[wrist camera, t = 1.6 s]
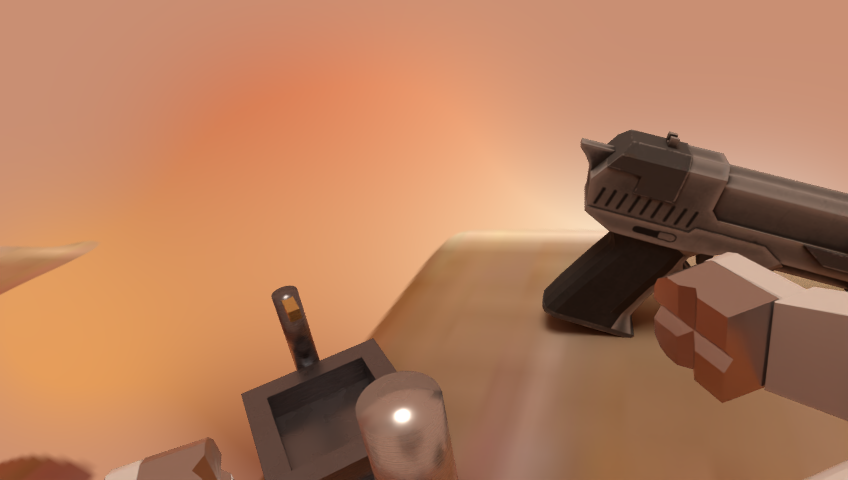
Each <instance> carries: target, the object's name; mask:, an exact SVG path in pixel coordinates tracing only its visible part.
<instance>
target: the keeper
mask: <svg viewBox="0 0 848 480" xmlns="http://www.w3.org/2000/svg"><path fill="white" fill-rule="evenodd" d="M272 299H273V303H274V305H275V308H276V311H277V314H278V317H279V320H280V323H281V325H282V329H283V331H284V334H285V337H286V340H287V343H288V346H289V349H290V352H291V355H292V358H293V361H294V364H295V366H296V369H297V371H295V372H292V373H290V374H288V375H285V376H283V377H281V378H278V379H276V380H273V381H271V382H269V383H266V384H264V385H262V386H259V387H257V388H254V389H252V390H250V391H247V392H245V393H243V394H241V395H242V399H243V402H244V406H245V410H246V413H247V417H248V420H249V424H250V427H251V431H252V434H253V438H254V442H255V445H256V449H257V453H258V456H259V459H260V463H261V467H262V471H263V474H264V478H265V480H375V478H374V475H373V471H372V468H371V465H370V461H369V458H368V454H367V451H366V448H365V444H364V441H363V437H362V434H361V431H360V427H359V424H358V420H357V417H356V403H357V400H358V398H359V396H360V394H361V393H362V392H363V390H364V389H365V388H366V387H367V386H368V385H370V384H371V383H372V382H374V381H375V380H377V379H378V378H380V377H383V376H385V375H388V374H391V373H395V372H397V371H396V370H395V369H394V367H393V366H392V364H391V363H390V361H389V360H388V359H387V357H386V356H385V354H384V353H383V351H382V350H381V349H380V347H379V346H378V344H377V343H376V341H375V340H374V339H370V340H368V341H366V342H363V343H361V344H358V345H356V346H354V347H351V348H349V349H347V350H345V351H342V352H340V353H337V354H335V355H333V356H330V357H328V358H325V359H323V360H321V361H320V360H319V357H318V354H317V351H316V348H315V344H314V341H313V338H312V335H311V332H310V329H309V325H308V322H307V319H306V316H305V313H304V310H303V306H302V303H301V300H300V297H299V294H298V291H297V288H296V287H294V286H285V287H281V288H279V289H277V290H276V291H274V292H273V294H272Z"/></svg>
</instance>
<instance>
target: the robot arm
mask: <svg viewBox="0 0 848 480" xmlns="http://www.w3.org/2000/svg"><path fill="white" fill-rule="evenodd" d="M654 299H655V300H656V301H657V302H658V303H659V304H660V305H661V307H660V308H659V310H658V312H657V314H656V315H655V317H654V329H655V335H656V337H657V340H658V342H659V345H660V347H661V348H662V350H663V351H664V352H665V354H666V355H667V356H668V357H669V358H670V359H671V360H672V361H673V362H674V363H676V364H677V365H680V366H683V367H687V368H690V369H693V373H694V380H695V381H697V382H698V383H699V384H700V385H701V386H703V387H704V388H705V389H706V390H707V391H708V392H710V393H711V394H712V395H713V396H714V397H716V398H717V399H718V400H719V401H720V402H722V403H724V402H726V401H729V400H732V399H734V398H737V397H740V396H742V395H745V394H748V393H750V392H753V391H756V390H758V389H761V388H764V387H765V390H767V391H769V392H772V393H775V394H777V395H780V396H783V397H785V398H788V399H791V400H793V401H796V402H798V403H801V404H804V405H806V406H809V407H812V408H814V409H817V410H820V411H822V412H825V413H828V414H830V415H833V416H836V417H838V418H841V419H844V420H846V421H848V292H845V291H838V290H832V289H825V288H819V287H812V288H809V289H805V288H803V287H801V286H799V285H797V284H795V283H793V282H791V281H790V280H788V279H786V278H784V277H782V276H780V275H778V274H776V273H774V272H772V271H770V270H768V269H766V268H765V267H763V266H761V265H759V264H757V263H755V262H753V261H751V260H749V259H747V258H745V257H743V256H741V255H740V254H738V253H731V252H727V253H724V254H722V255H719V256H716V257H714V258H711V259H708V260H706V261H704V262H703V263H700V264H697V265H694V266H692V267H689V268H686V269H683V270H680V271H678V272H675V273H672V274H669V275H667V276H664V277H661V278H658V279H657V281H656V283H655V286H654ZM104 480H234V479H233V477H232V474H231V473H228V472H226V471H224V470H221V453H220V451H219V449H218V447H217V445H216V444H215V442H214V440H213V439H211V438H205V439H202V440H199V441H195V442H192V443H190V444H187V445H183V446H180V447H177V448H174V449H171V450H168V451H165V452H162V453H159V454H156V455H153V456H150V457H147V458H145V459H144V460H139V461H136V462H133V463H131V464H128V465H124V466H122V467H119V468H116V469H113V470H111V471H110V472H109V473H108V474H107V476H106V477H105V479H104ZM804 480H848V460H846V461H844V462H841V463H839V464H837V465H835V466H832V467H830V468H828V469H826V470H824V471H821V472H819V473H817V474H815V475H813V476H810V477H808V478H806V479H804Z"/></svg>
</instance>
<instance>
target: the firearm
mask: <svg viewBox="0 0 848 480" xmlns="http://www.w3.org/2000/svg"><path fill="white" fill-rule="evenodd" d="M677 137H678V134H677V133H673V132H669V133H668V136H667V138H663V137H659V136H655V135H651V134H647V133H643V132H639V131H635V130H629V131H626V132H624V133H621V134H619V135H617V136H616V137H615V138H614V139H613V140H611V141H610V142H609V143H608V144H604V143H600V142H596V141H592V140H588V139H584V138H582V140H581V148H582V150H583V151H584V153H585V154H586V156H587V159H588V162H589V171H588V176H587V183H586V184H585V211H586V212H587V213H588V214H589V215H591V216H592V217H593V218H594V219H595V220H597V221H598V222H599V223H600V224H601V225H603V226H604V227H605V228H606V229H607V230H609V232H608V233H607V234H606V235H605V236H604V237H603V238H601V239H600V240H599V241H598V242H597V243H595V244H594V245H593V246H592V247H591V248H590V249H588V250H587V251H586V252H585V253H584V254H583V255H582V256H581V257H579V258H578V259H577V260H576V261H575V262H574V263H573V264H572V265H570V266H569V267H568V268H567V269H566V270H565V271H564V272H563V273H561V274H560V275H559V276H558V277H557V278H556V279H555V280H554V281H553V282H552V283H551V284H550V285H549V286H548V287H547V288H546V289H545V290H544V295H543V309H544V311H545V312H546V313H548V314H549V315H551V316H552V317H555V318H558V319H562V320H565V321H569V322H572V323H576V324H579V325H583V326H586V327H589V328H593V329H596V330H600V331H603V332H607V333H610V334H614V335H617V336H621V337H626V338H631V337H632V336H634V333H633V324H632V316H631V314H632V313H633V312H634V311H635V310H636V309H637V308H638V307H639V306H640V305H641V304H642V303H643V301H644V300H645V299H646V298H648V297H649V296H650V295H651V294H652V293H653V292H654V286H655V283H656V281H657V279H658V278H661V277H664V276H667V275H669V274H672V273H675V272H678V271H680V270H683V269H686V268H689V267H691V266H690V265H689V263H688V262H687V261H686V260H687V259H688V258H689V257H692V256H695V255H696V264H700V263H703V262H704V261H706V260H708V259H711V258H713V256H714V255H722V254H724V253H727V252H731V253H738V254H740V255H741V256H743V257H745V258H747V259H749V260H751V261H753V262H755V263H757V264H759V265H761V266H763V267H765V268H766V269H768V270H770V271H774V270H776V271H780V272H784V273H787V274H791V275H795V276H799V277H802V278H806V279H810V280H814V281H817V282H821V283H825V284H829V285H832V286H836V287H840V288H844V289H845V291H846V292H848V194H847V193H843V192H839V191H835V190H831V189H827V188H823V187H819V186H815V185H811V184H807V183H803V182H799V181H795V180H791V179H787V178H783V177H779V176H774V175H771V174H767V173H762V172H758V171H755V170H750V169H746V168H743V167H739V166H734V165H730V164H729V162H728V161H727V159H726V157H725V155H724V154H722V153H719V152H715V151H711V150H707V149H702V148H698V147H694V146H690V145H688V143H684V142H680V139H679V138H677Z"/></svg>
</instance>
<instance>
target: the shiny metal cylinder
mask: <svg viewBox="0 0 848 480" xmlns="http://www.w3.org/2000/svg"><path fill="white" fill-rule="evenodd" d="M356 417H357V420H358V424H359V427H360V431H361V434H362V437H363V441H364V444H365V448H366V451H367V454H368V458H369V461H370V465H371V468H372V471H373V475H374V478H375V480H458V476H457V470H456V465H455V460H454V454H453V449H452V444H451V438H450V433H449V427H448V422H447V417H446V411H445V406H444V401H443V395H442V391H441V388H440V386H439V385H438V383H437V382H436V381H435V380H434V379H433V378H431V377H429V376H428V375H425V374H423V373H419V372H414V371H401V372H395V373H391V374H388V375H385V376H383V377H380V378H378V379H377V380H375V381H374V382H372V383H371V384H370V385H368V386H367V387H366V388H365V389H364V390H363V392H362V393H361V394H360V396H359V398H358V400H357V403H356Z"/></svg>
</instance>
